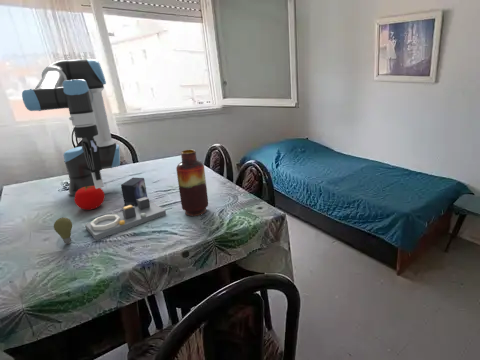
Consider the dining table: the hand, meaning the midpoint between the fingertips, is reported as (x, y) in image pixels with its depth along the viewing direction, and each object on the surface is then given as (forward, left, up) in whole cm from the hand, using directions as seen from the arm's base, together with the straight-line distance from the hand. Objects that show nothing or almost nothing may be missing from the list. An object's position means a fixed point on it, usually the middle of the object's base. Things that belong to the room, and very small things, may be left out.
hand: (99, 187), depth 113 cm
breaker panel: (+3, +7, -16) cm, 18 cm away
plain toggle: (0, +16, -14) cm, 21 cm away
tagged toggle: (+4, +8, -14) cm, 16 cm away
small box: (-14, +18, -16) cm, 28 cm away
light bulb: (+4, -15, -16) cm, 23 cm away
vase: (+17, +31, -16) cm, 38 cm away
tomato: (-24, +1, -16) cm, 29 cm away
